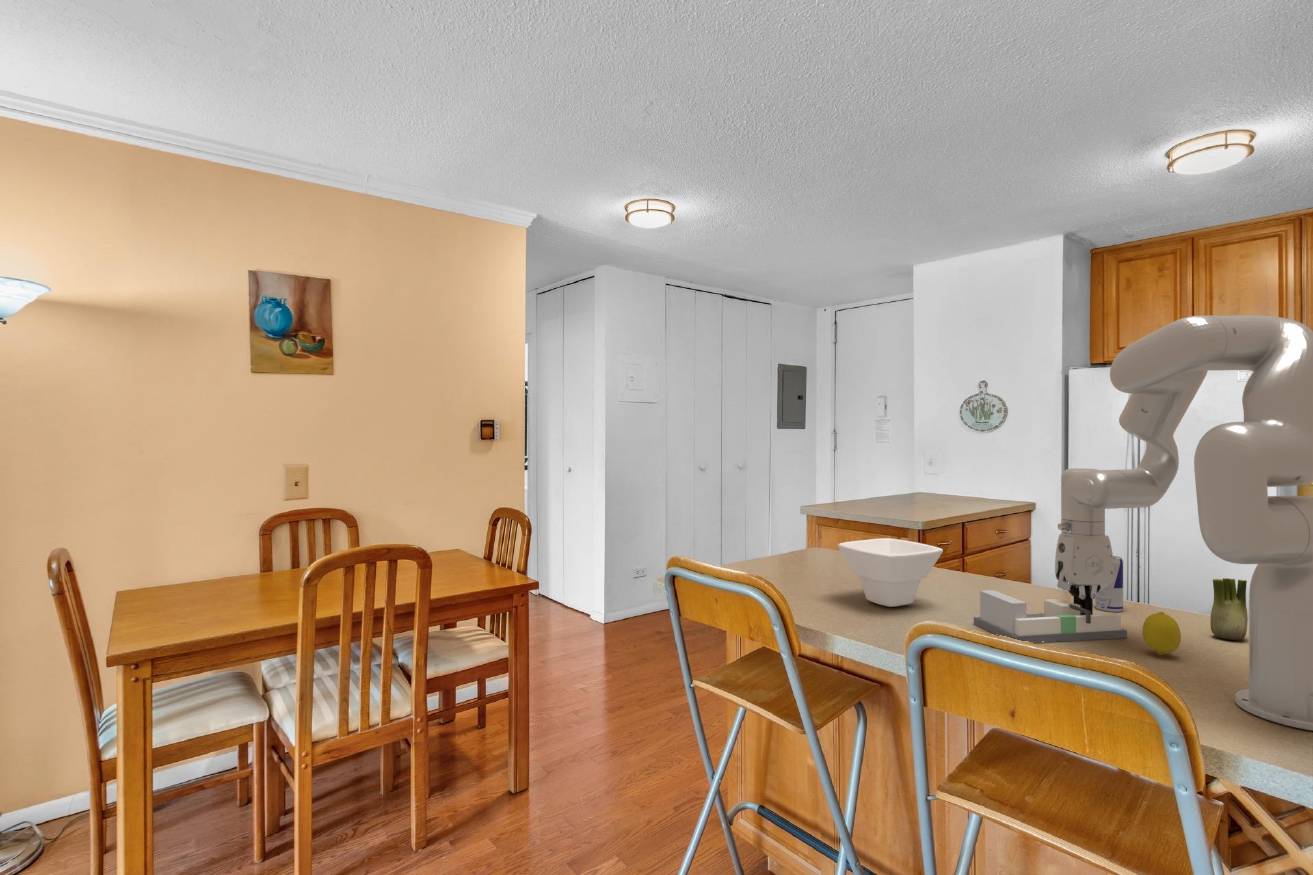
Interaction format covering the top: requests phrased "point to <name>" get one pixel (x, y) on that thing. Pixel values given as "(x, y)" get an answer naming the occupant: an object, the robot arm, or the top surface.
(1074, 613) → the carriage
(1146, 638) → the lemon
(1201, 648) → the top surface
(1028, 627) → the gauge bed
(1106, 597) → the energy drink
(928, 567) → the bowl
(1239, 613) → the fennel bulb
